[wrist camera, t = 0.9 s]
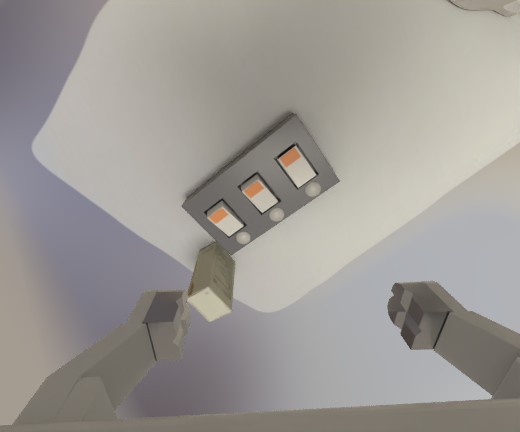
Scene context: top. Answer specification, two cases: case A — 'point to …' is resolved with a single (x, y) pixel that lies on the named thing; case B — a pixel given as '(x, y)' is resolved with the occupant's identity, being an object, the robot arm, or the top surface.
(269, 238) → the top surface
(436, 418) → the robot arm
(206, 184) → the switch panel
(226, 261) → the skincare box
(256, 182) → the rocker middle
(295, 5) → the top surface
